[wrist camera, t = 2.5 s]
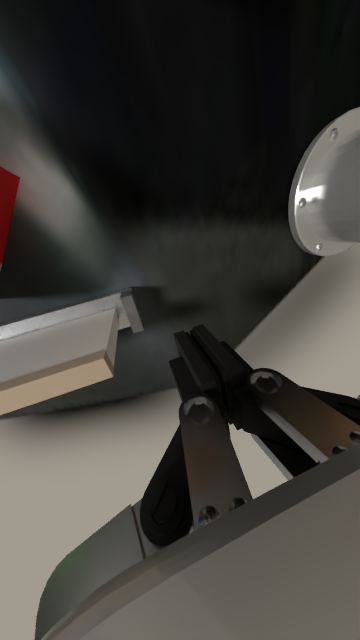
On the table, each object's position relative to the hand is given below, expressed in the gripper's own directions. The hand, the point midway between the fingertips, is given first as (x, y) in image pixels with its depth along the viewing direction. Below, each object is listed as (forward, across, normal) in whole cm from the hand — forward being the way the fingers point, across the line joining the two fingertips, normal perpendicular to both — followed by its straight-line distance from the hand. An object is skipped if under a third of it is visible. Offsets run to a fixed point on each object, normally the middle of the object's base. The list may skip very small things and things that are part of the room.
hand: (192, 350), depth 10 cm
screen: (+9, +10, 0) cm, 14 cm away
